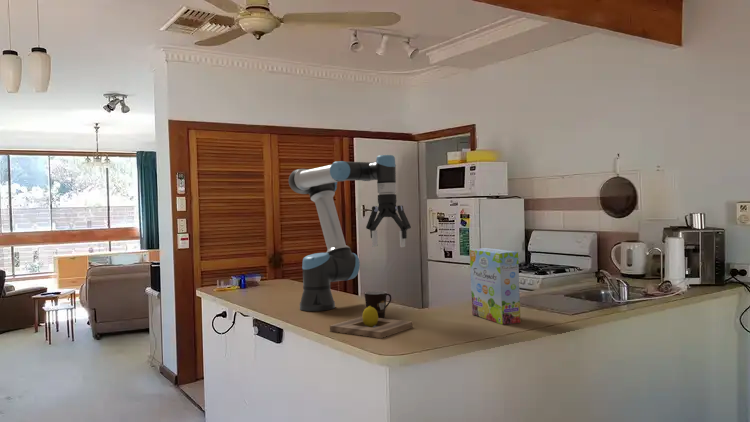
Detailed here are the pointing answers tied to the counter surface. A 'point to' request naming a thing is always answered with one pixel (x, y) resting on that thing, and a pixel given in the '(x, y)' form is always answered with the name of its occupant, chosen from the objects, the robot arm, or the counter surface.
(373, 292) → the coffee mug
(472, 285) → the snack box
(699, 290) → the counter surface
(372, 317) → the lemon
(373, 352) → the counter surface
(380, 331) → the pocket board
